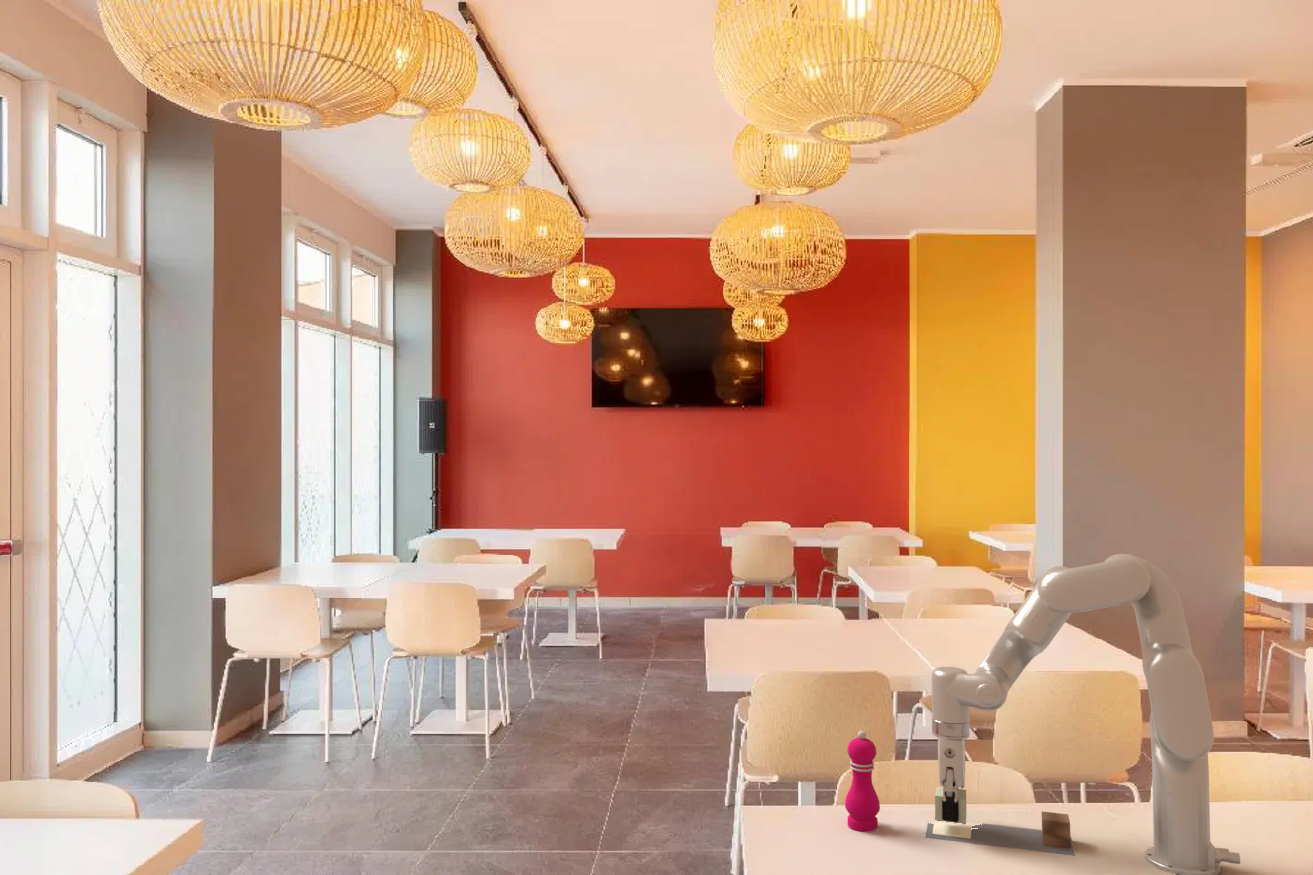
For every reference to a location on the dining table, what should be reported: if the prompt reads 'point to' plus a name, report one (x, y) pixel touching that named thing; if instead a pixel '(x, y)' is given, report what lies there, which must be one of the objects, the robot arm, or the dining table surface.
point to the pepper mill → (862, 785)
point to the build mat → (994, 836)
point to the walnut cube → (1056, 829)
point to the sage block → (960, 798)
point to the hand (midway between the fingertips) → (951, 814)
